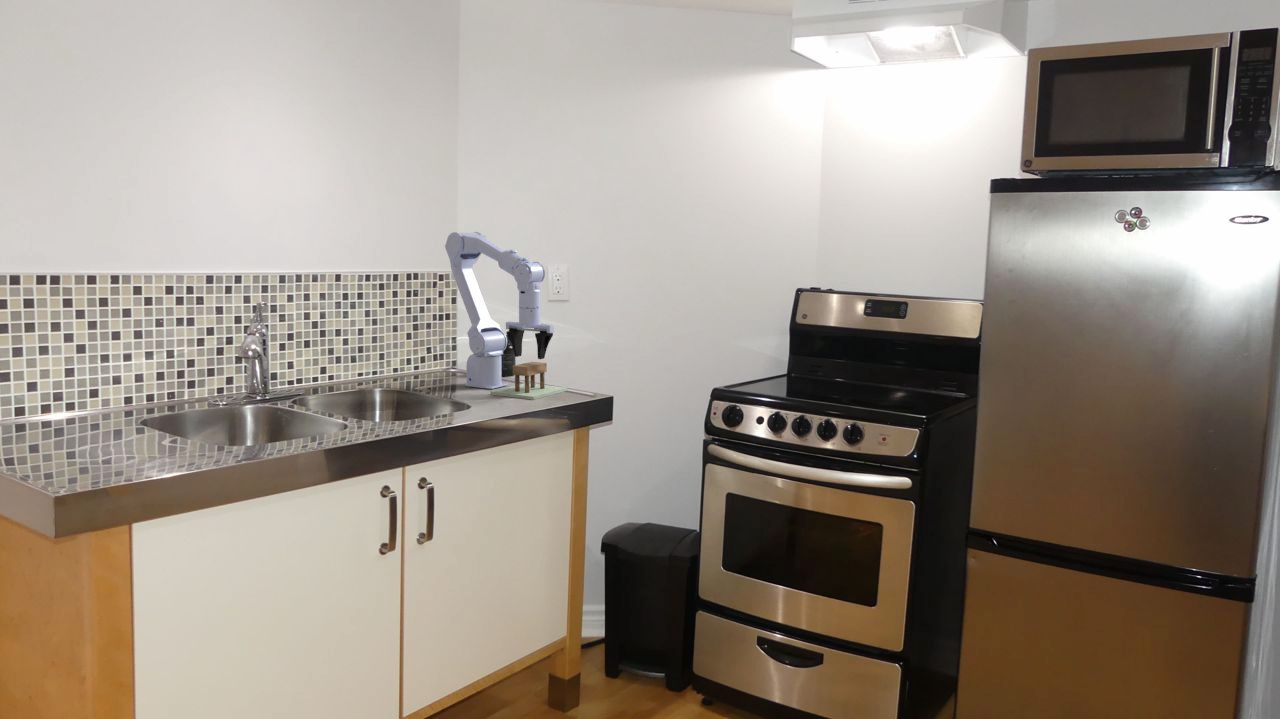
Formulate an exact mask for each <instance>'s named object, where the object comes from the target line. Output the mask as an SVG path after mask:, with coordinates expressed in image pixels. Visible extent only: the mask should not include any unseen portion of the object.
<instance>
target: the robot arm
mask: <svg viewBox="0 0 1280 719" xmlns="http://www.w3.org/2000/svg"><path fill="white" fill-rule="evenodd" d="M444 248H445V250H446V253H447V256H448V259H449V262H450V268H451V272H452V275H453V278H454V281H455V283H456V285H457V286H456V287H457V288H458V289H457V290H458V291H459V293H460V294H459V295H460V296H461V299H462V302H463V304H464V305H463V306H464V307H465V310H466V313H467V316H468V317H469V318H468V319H469V321H470V323H471V326H470V328H469V329H468V330H467V333H466V334H467V337H468V344H469V349H470V351H471V352H472V354H470V355H469V356H468V358H467V361H466V383H465V384H464V386H465V387H470V388H471V387H472V388H479V389H480V388H481V389H488V390H494V389H497V388H501V387H506V386H508V385H509V383H507V382H502V381H503V380H502V377H503V376H502V372H501V354H503V351H504V350H505V349H506V347H507V337H506V335H507V336H508V337H509V339H510V341H511V344H512V347H513V350H514V354H515V358H518V357H522V352H523V338H524V334H525V331H527V332H535V333H534V337H535V342H536V345H537V359H538V360H543V359H545V358H546V357H545V356H546V352H547V349H548V347H549V343H550V341H551V340H552V338H553V336H554V333H555V325H553V324H547V323H541V283H542V282H543V281H544V279H545V276H546V270H545V268H544V266H543V265H542V264H541V263H540V262H539V261H532V262H531V261H530V260H529V258H527V257H524V256H522V255H520V254H519V253H518V251H517V250H515V249H507V250H504V249H502V248H501V247H499V246H498V245H496V244H495V243H494V242H492V241H491V240H490V239H488V238H487V236H486V235H484V234H482V233H481V232H478V231H475V232H457V231H453V232H451V233H449V235H448V236H447V238H446V242H445V244H444ZM481 255H485V256H486V257H489V258H490V259H492V260H494V261H495V262H497V263H498V267H499V268H500V269H501V270H503V271H505V272H506V273H507V274H509V275H511V276H512V277H514V280H515V282H516V284H517V285H516V286H517V290H518V321H506V322H505V330H507V331H506V333H505V332H504V331H503V330H502V328H501V325H500V323H497V322H496V321H494V320H493V319H492V318H491V316H490V313H489V311H488V307H487V305H486V303H485V300H484V298H483V295H482V292H481V290H480V287H479V284H478V281H477V278H476V276H475V273H474V271H473V267H474V265H475V264H476V263H477V261H478V260H479V258H480V257H481Z"/></svg>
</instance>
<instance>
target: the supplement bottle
mask: <svg viewBox="0 0 1280 719" xmlns="http://www.w3.org/2000/svg"><path fill="white" fill-rule="evenodd" d="M505 335H506V337H507V347H506V349H505V350H504V351H503V354H501V372H502V377H512V376H514V375H513V366H515V365H517V364H516V363H517V362H516V361H517V360H516V358H517V357H515V354H514V350H513V347H512V344H511V341H510V339H509V337H508V336H507V334H505Z"/></svg>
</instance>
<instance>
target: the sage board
mask: <svg viewBox="0 0 1280 719" xmlns="http://www.w3.org/2000/svg"><path fill="white" fill-rule="evenodd" d="M566 391H567V392H568V388H567V387H566V386H565V387H563V386H555V385H546V384H544V389H540V383H539V384H537V383H535V388H531V382H529V393H525V382H524V383H520V391H519V392H515V385H511V386H507V387H504V388H500V389H495V390H492V391H490V395H493V396H500V397H501V396H502V397H509V398H510V397H511V398H515V399H517V398H518V399H524V400H532V401H533V400H534V401H535V400H538V399H541V398H544V397H549V396H552V395H553V396H554V395H556V394H559V393H564V392H566Z"/></svg>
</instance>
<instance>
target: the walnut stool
mask: <svg viewBox="0 0 1280 719" xmlns="http://www.w3.org/2000/svg"><path fill="white" fill-rule="evenodd" d="M547 366H548V365H547V362H540V361H539V362H537V361H528V362H525V363H520V364H516V365H515V366H513V376H514V386H515V392H519V391H520V384H521V383H520V380H521V379H520V378H521V377H524V383H525V393H529V383H530V384H531V388H535V384H536V375H539V385H540V389H544V385H545V373H547ZM520 376H521V377H520Z"/></svg>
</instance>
